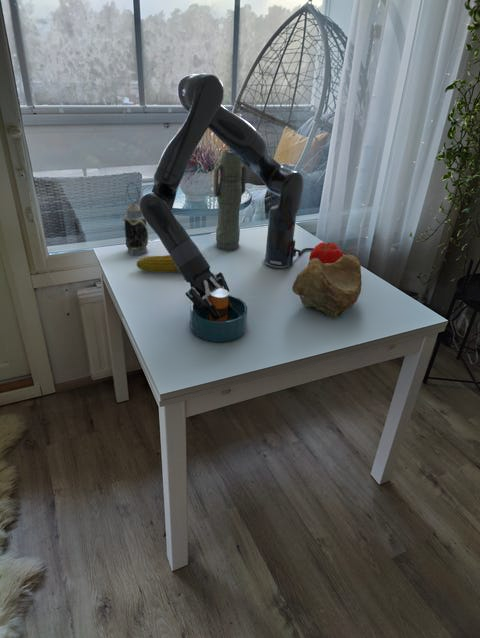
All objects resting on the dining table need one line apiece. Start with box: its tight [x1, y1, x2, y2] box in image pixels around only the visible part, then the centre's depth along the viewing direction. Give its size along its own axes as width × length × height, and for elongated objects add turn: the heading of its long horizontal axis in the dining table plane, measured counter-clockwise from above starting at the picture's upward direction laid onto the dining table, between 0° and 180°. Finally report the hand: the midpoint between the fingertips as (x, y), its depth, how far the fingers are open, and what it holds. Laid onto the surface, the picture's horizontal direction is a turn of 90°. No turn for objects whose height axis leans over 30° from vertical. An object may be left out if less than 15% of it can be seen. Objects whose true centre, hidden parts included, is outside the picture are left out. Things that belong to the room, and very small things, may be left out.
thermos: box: [213, 149, 247, 252], centre depth 162 cm, size 9×12×35 cm
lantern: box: [122, 182, 149, 256], centre depth 156 cm, size 9×8×25 cm
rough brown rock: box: [291, 253, 362, 319], centre depth 131 cm, size 23×17×15 cm
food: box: [136, 254, 180, 273], centre depth 148 cm, size 21×6×6 cm, turn 98°
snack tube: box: [210, 288, 230, 322], centre depth 119 cm, size 5×5×10 cm
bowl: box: [189, 294, 248, 343], centre depth 121 cm, size 15×15×6 cm
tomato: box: [308, 241, 345, 264], centre depth 155 cm, size 11×12×9 cm
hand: (224, 313), depth 119 cm, fingers closed on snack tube, 5 cm apart
